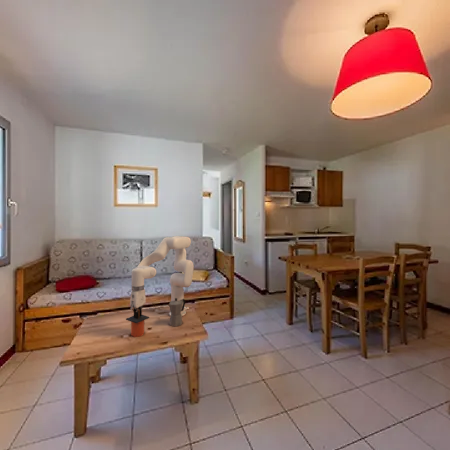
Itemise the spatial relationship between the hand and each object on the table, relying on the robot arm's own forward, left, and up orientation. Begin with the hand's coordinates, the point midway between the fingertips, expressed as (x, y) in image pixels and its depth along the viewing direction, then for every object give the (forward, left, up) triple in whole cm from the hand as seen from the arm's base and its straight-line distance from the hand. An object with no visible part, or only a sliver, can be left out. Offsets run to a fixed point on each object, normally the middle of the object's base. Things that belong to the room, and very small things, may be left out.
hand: (137, 316), depth 154 cm
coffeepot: (-27, +3, -11) cm, 29 cm away
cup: (0, 0, -11) cm, 11 cm away
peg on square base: (0, 0, -1) cm, 1 cm away
